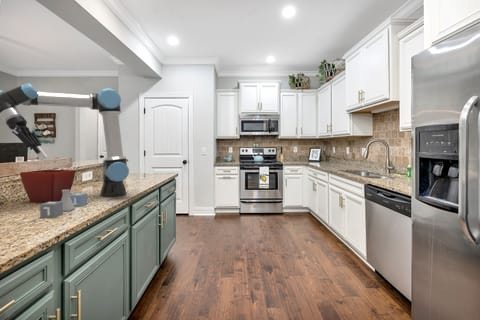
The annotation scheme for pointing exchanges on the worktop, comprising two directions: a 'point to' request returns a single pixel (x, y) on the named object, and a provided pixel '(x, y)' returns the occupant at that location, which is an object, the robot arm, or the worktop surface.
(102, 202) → the worktop surface
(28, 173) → the plant pot
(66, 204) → the flask
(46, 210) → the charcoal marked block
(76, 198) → the slate-blue marked block
